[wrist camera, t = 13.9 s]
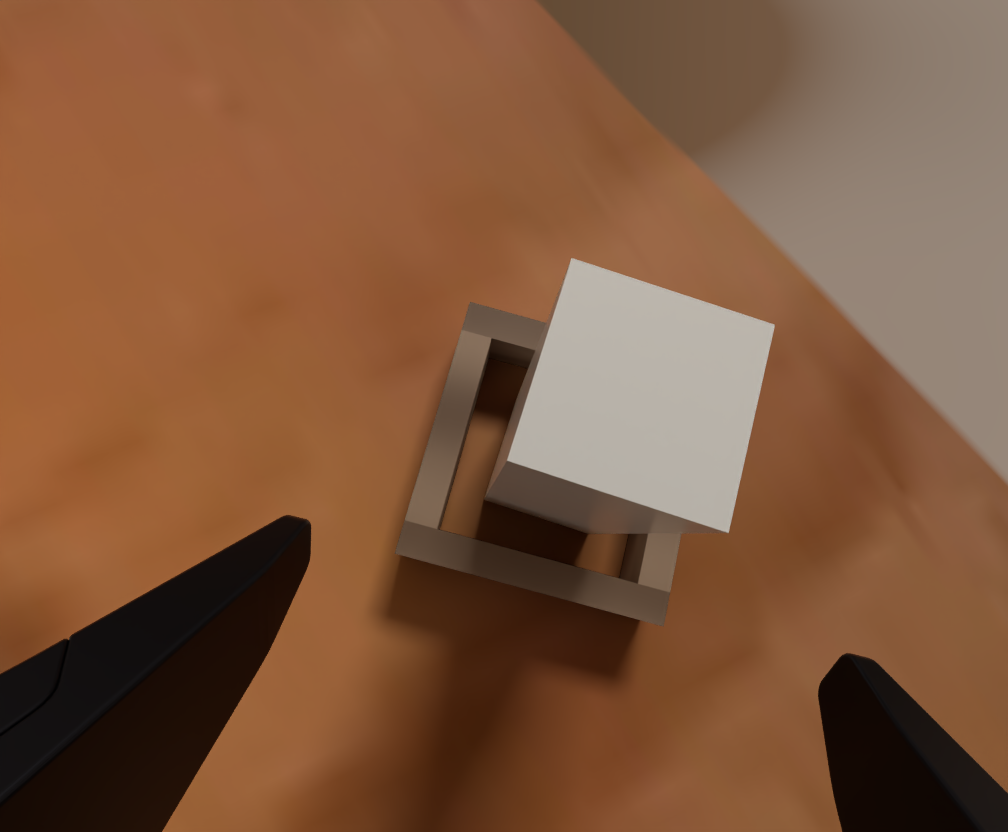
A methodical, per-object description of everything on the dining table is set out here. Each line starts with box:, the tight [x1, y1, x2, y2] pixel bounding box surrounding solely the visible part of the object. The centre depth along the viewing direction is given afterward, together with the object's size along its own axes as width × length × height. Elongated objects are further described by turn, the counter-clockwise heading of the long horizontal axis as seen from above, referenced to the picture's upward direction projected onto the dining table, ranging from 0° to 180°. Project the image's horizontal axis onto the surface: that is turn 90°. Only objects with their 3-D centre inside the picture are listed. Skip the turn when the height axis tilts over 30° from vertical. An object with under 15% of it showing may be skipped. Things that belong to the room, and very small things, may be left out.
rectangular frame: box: [395, 302, 681, 626], centre depth 22 cm, size 10×10×2 cm
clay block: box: [484, 258, 775, 534], centre depth 18 cm, size 4×4×12 cm
